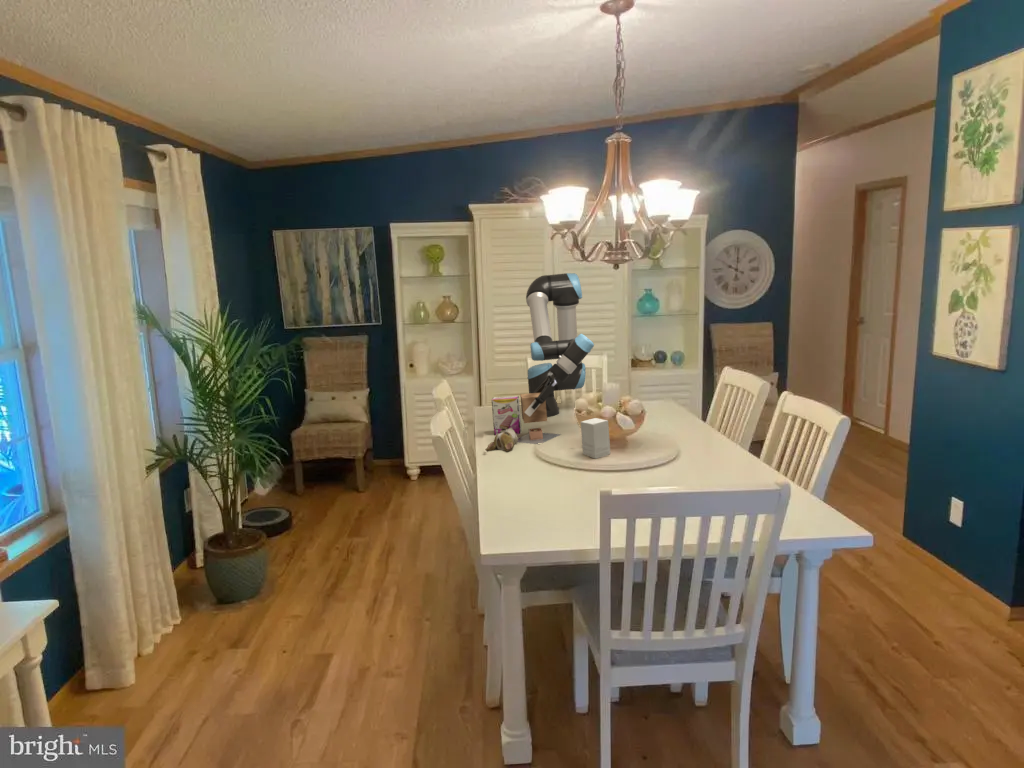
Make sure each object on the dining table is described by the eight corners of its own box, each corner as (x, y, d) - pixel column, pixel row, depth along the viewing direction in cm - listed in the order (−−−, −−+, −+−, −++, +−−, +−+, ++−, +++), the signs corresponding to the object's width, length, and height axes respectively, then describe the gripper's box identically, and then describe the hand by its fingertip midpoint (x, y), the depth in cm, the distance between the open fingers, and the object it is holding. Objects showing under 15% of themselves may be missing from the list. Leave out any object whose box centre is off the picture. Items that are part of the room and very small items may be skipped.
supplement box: (611, 454, 248) (609, 420, 246) (594, 459, 245) (592, 424, 243) (598, 451, 255) (596, 417, 253) (582, 455, 251) (579, 421, 249)
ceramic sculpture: (523, 423, 270) (507, 435, 257) (525, 444, 272) (510, 457, 259) (498, 423, 274) (481, 435, 261) (500, 444, 276) (484, 456, 263)
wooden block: (544, 416, 280) (542, 392, 279) (547, 421, 271) (545, 395, 270) (522, 418, 280) (520, 394, 278) (524, 423, 271) (522, 398, 269)
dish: (541, 435, 280) (540, 427, 279) (542, 438, 275) (542, 430, 274) (529, 436, 279) (528, 429, 279) (530, 439, 274) (529, 431, 274)
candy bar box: (494, 438, 287) (490, 399, 284) (495, 435, 292) (492, 397, 289) (521, 436, 286) (517, 397, 283) (522, 433, 291) (519, 395, 288)
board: (532, 434, 288) (532, 431, 287) (561, 437, 279) (561, 434, 279) (510, 444, 275) (510, 441, 275) (539, 447, 267) (539, 444, 266)
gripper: (552, 359, 283) (516, 401, 285) (559, 366, 262) (520, 411, 264) (565, 370, 285) (530, 412, 286) (574, 378, 263) (535, 423, 265)
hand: (525, 412), depth 275 cm, fingers closed on wooden block, 9 cm apart
